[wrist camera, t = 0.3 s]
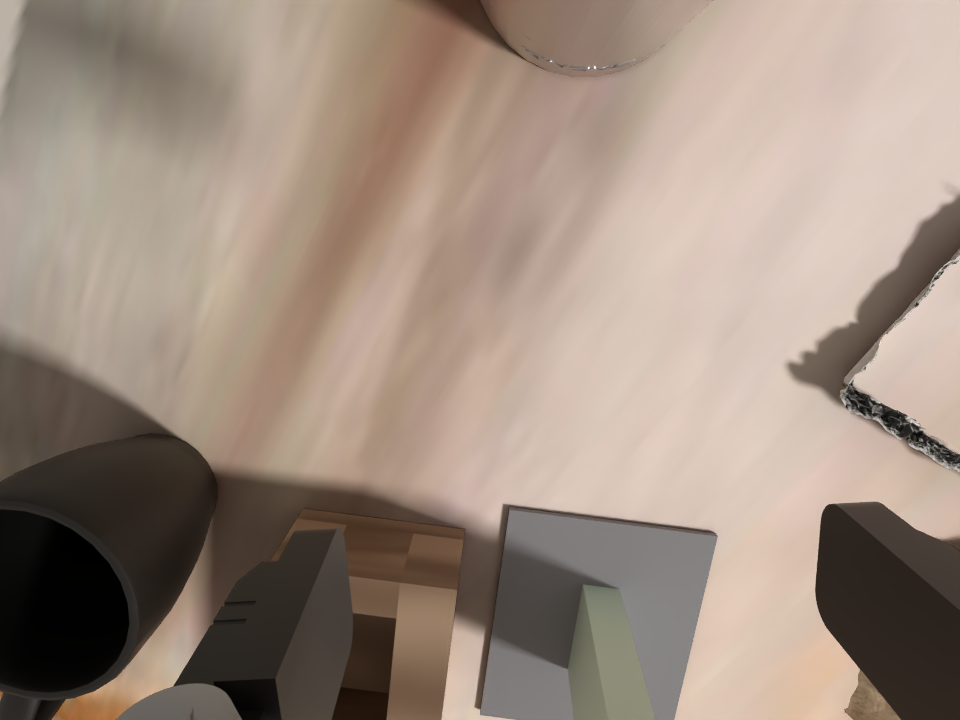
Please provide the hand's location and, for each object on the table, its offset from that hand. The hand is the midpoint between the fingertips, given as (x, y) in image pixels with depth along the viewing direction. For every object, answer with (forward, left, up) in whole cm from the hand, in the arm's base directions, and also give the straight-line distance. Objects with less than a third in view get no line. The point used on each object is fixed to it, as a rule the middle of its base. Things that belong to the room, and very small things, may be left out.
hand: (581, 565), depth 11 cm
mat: (+15, +5, -19) cm, 25 cm away
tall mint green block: (+15, +5, -19) cm, 25 cm away
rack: (+16, -6, -19) cm, 26 cm away
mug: (+12, -18, -19) cm, 29 cm away
